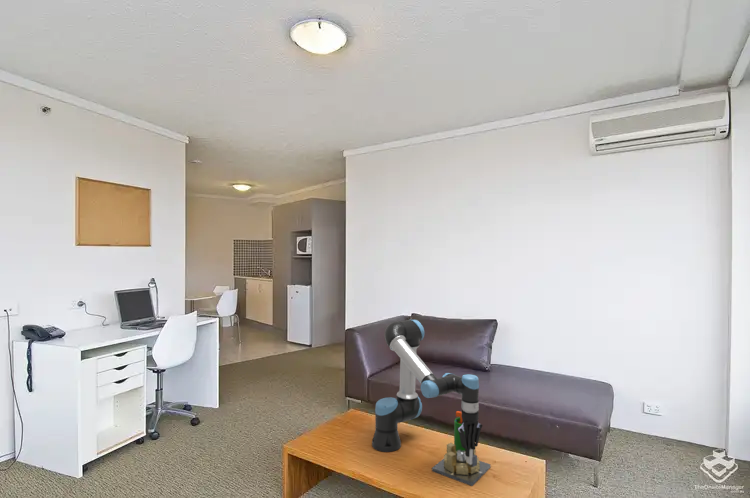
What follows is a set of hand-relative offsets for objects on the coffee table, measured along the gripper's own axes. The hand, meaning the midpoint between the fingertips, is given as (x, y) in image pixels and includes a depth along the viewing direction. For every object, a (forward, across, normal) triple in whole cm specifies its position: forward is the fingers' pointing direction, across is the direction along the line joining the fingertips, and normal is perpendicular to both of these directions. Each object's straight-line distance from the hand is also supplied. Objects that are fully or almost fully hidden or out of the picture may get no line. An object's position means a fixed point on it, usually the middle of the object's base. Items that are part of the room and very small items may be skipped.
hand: (469, 462), depth 185 cm
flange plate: (+6, +1, +7) cm, 9 cm away
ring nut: (+4, +1, +7) cm, 8 cm away
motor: (+6, +12, +20) cm, 24 cm away
